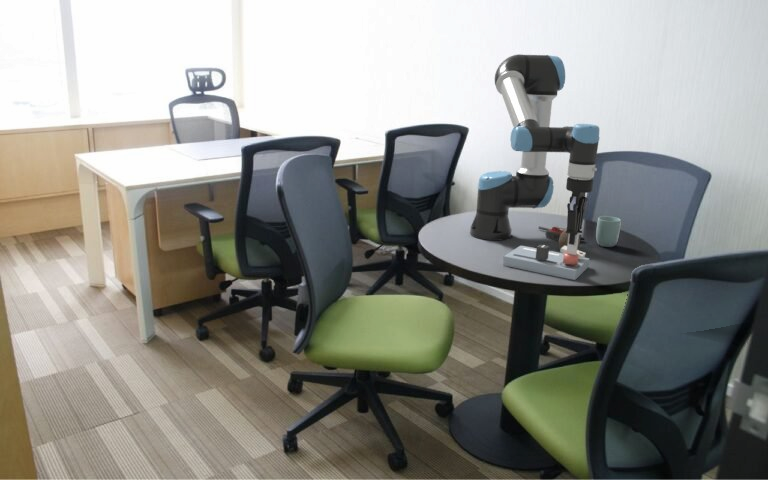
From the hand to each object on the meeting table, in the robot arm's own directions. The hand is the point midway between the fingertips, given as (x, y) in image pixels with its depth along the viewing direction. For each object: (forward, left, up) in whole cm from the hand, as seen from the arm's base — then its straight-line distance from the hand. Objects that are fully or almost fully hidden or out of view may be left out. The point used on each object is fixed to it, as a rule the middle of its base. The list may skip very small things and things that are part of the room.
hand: (571, 253), depth 194 cm
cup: (+1, +40, -7) cm, 41 cm away
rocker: (-2, +8, -2) cm, 8 cm away
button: (0, 0, -3) cm, 3 cm away
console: (-9, +4, -7) cm, 11 cm away
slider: (-9, 0, -3) cm, 9 cm away
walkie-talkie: (-16, +40, -7) cm, 44 cm away
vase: (-8, +24, -7) cm, 26 cm away
